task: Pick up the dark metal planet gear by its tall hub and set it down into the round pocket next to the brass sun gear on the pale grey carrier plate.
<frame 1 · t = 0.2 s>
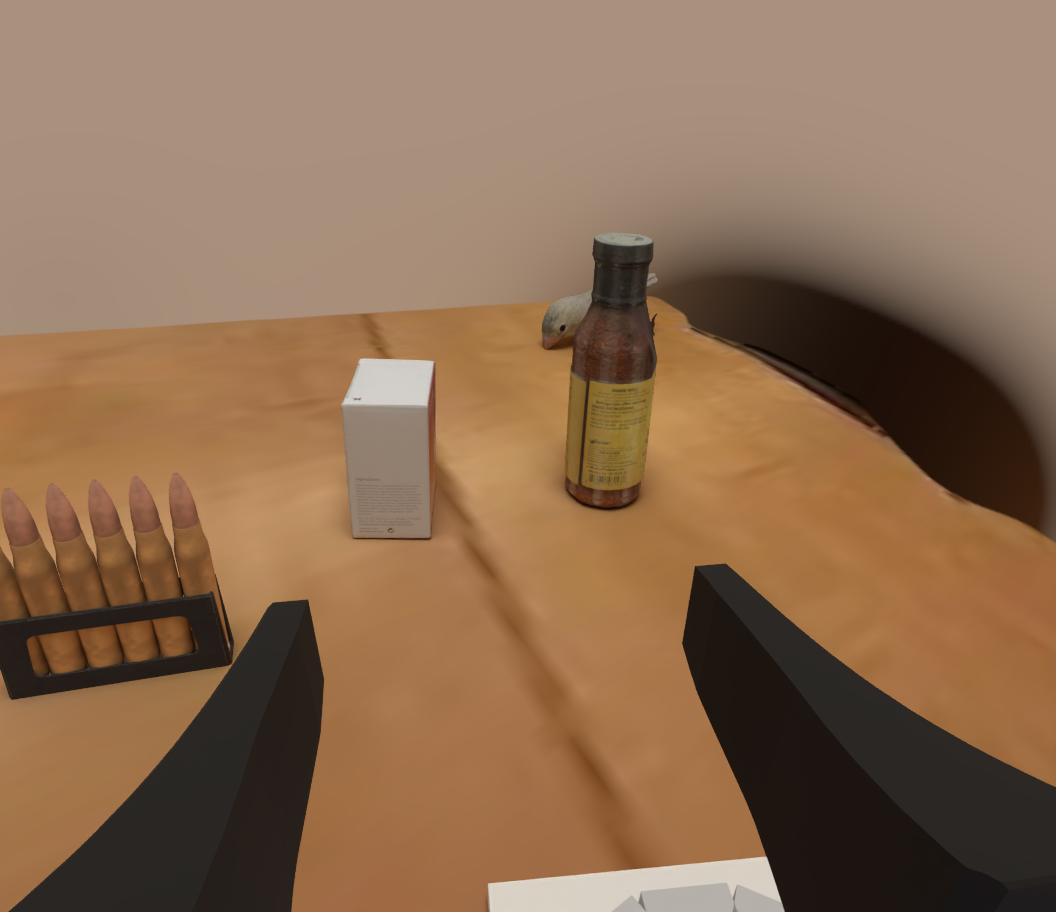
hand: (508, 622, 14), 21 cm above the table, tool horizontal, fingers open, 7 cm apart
sauce bottle: (599, 491, 58), on the table
decorative bird: (596, 342, 88), on the table
ammunition clip: (129, 671, 39), on the table
small box: (397, 511, 54), on the table
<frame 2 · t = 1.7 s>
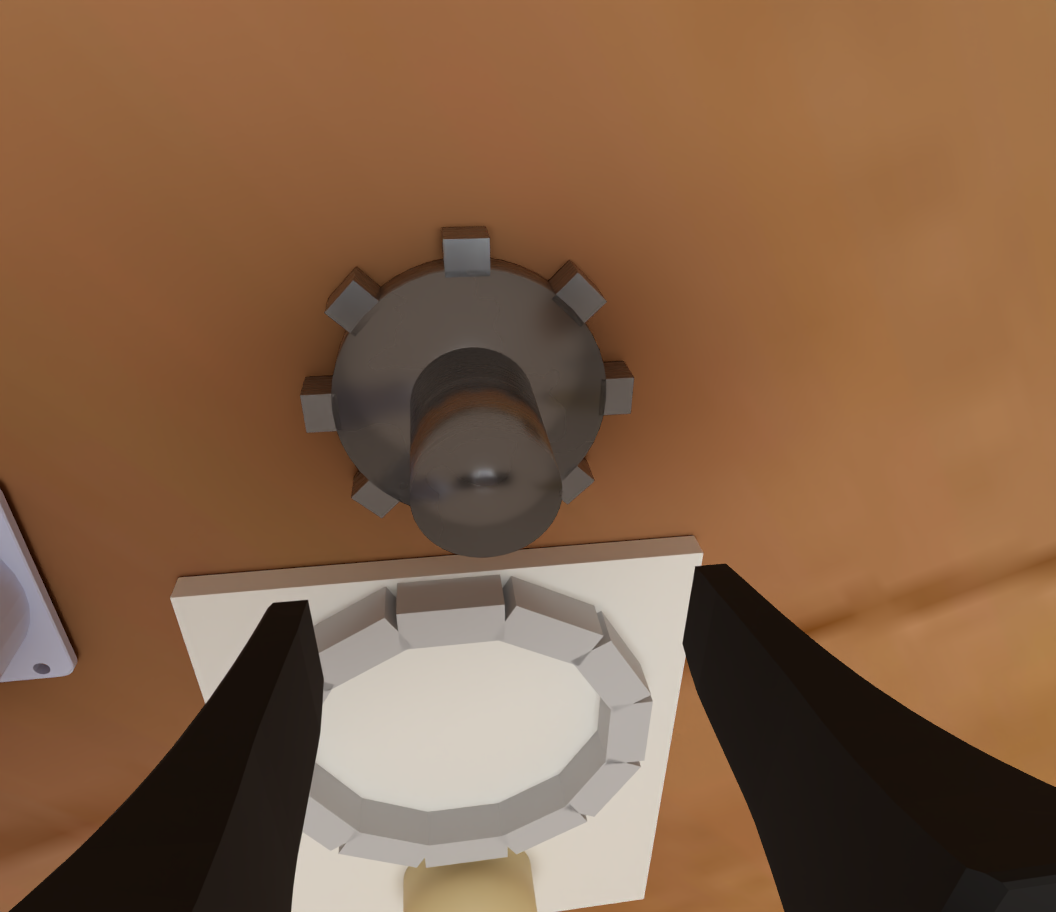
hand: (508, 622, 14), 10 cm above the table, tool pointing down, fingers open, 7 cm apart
planet gear: (469, 386, 22), on the table
carrier plate: (460, 762, 31), on the table
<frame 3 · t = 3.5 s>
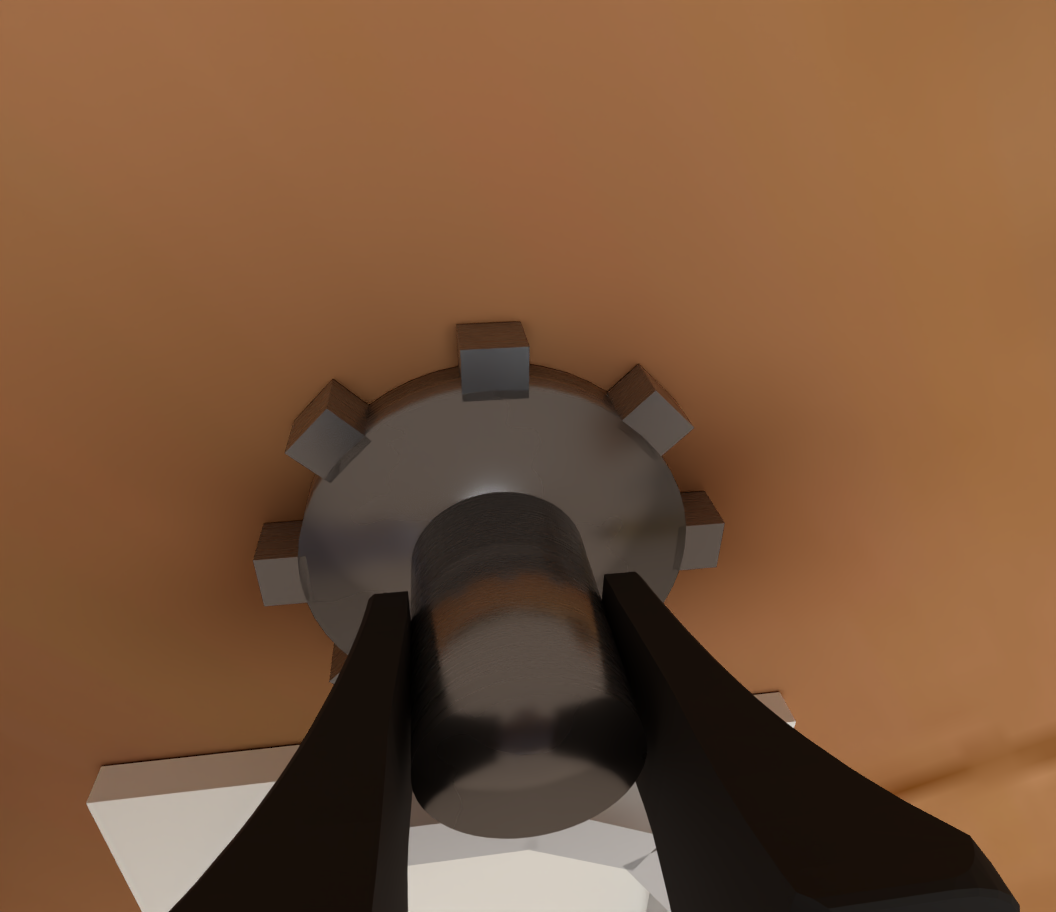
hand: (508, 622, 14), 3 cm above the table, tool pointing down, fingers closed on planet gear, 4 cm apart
planet gear: (493, 529, 16), on the table, touching gripper
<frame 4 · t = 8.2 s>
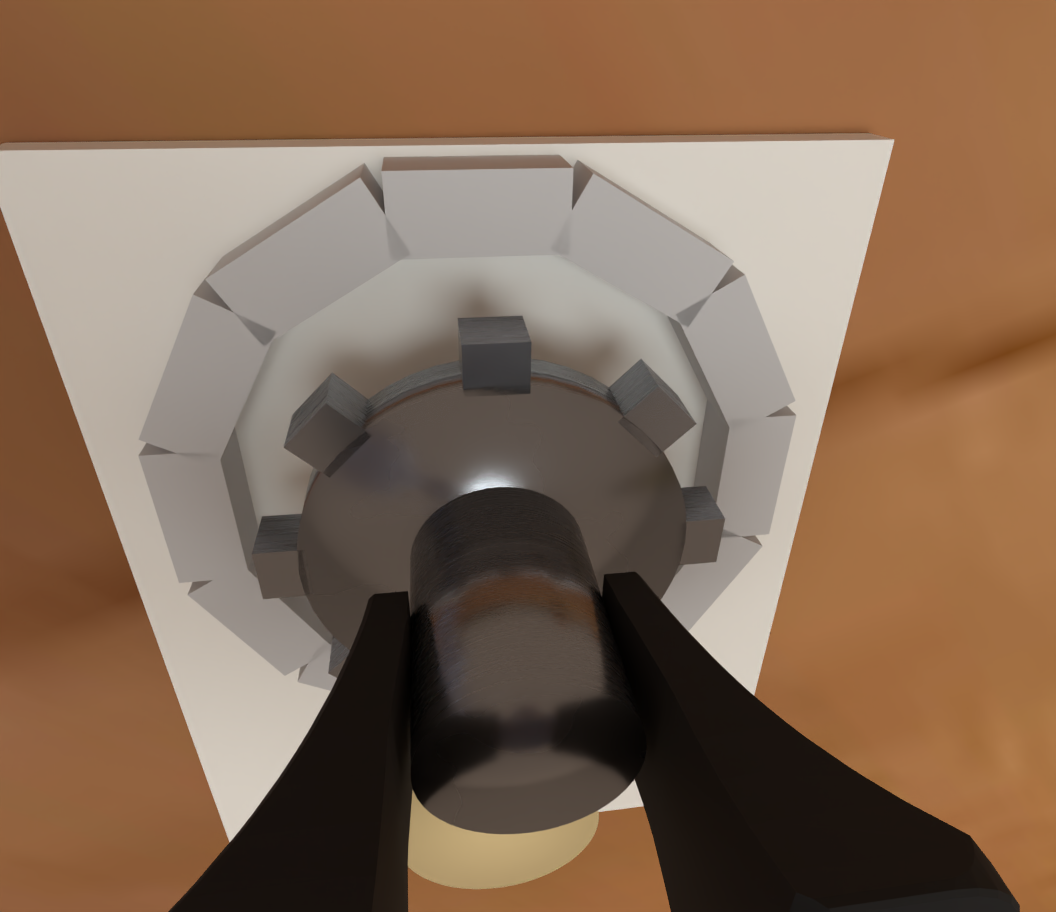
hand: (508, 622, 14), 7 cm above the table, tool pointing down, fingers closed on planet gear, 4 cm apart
planet gear: (492, 522, 16), point 4 cm above the table, touching gripper
carrier plate: (482, 562, 21), on the table
when the fingers open (5 cm above the table, at t = 9.3 s): planet gear drops 1 cm, resting on carrier plate.
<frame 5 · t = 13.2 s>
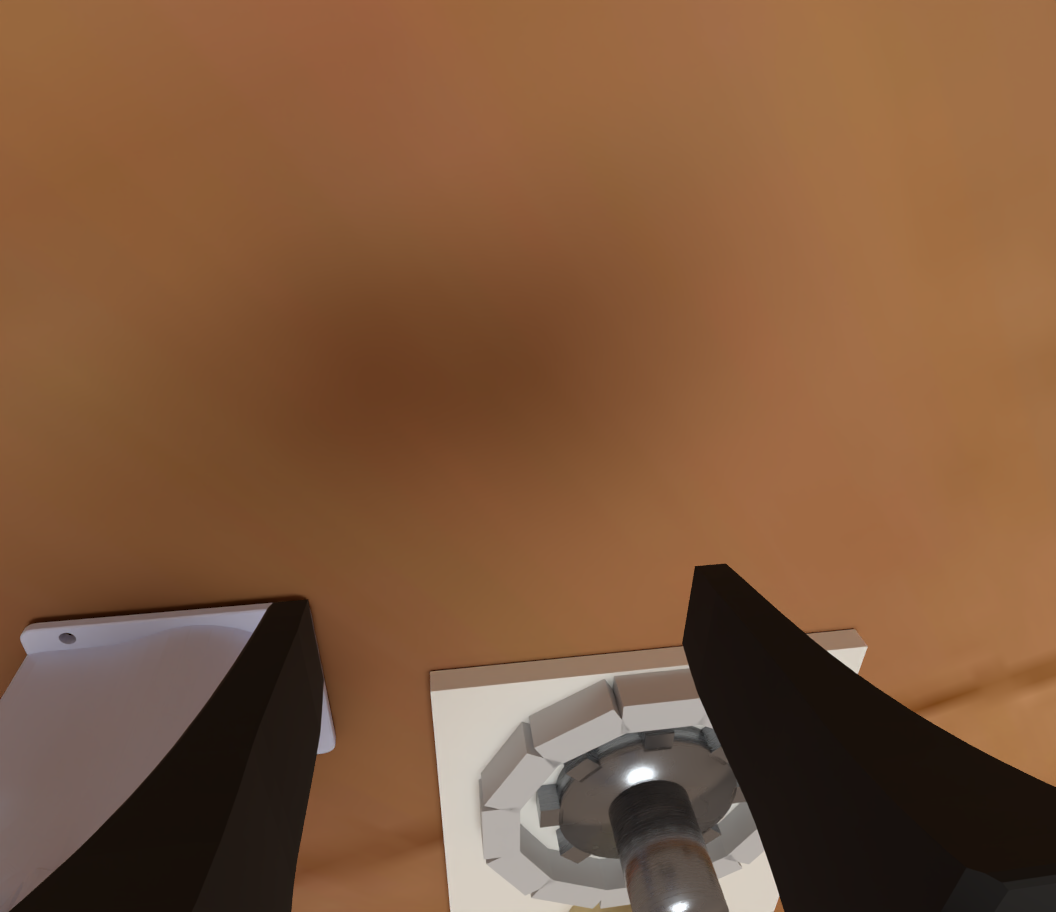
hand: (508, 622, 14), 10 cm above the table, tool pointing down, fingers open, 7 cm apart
planet gear: (641, 781, 33), point 1 cm above the table, touching carrier plate
carrier plate: (627, 815, 36), on the table
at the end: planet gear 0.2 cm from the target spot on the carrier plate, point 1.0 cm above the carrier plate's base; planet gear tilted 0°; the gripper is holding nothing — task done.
